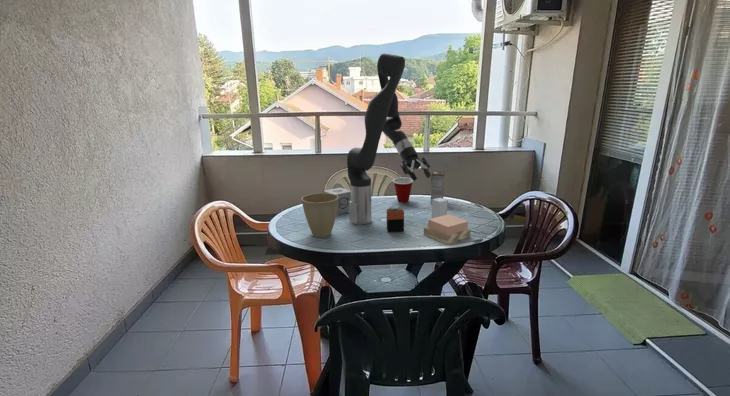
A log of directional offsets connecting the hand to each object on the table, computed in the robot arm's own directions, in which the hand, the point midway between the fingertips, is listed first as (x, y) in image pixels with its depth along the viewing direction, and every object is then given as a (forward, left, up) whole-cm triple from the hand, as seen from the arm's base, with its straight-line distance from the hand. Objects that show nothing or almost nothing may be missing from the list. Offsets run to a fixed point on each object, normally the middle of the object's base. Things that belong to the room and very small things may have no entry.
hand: (422, 178), depth 173 cm
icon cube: (-28, +30, -18) cm, 45 cm away
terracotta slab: (-10, -26, -15) cm, 31 cm away
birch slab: (-10, -25, -18) cm, 33 cm away
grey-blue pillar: (0, -11, -18) cm, 21 cm away
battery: (-23, -8, -18) cm, 30 cm away
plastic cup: (+7, +22, -18) cm, 29 cm away
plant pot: (-50, +7, -18) cm, 54 cm away
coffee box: (+20, +10, -18) cm, 28 cm away
